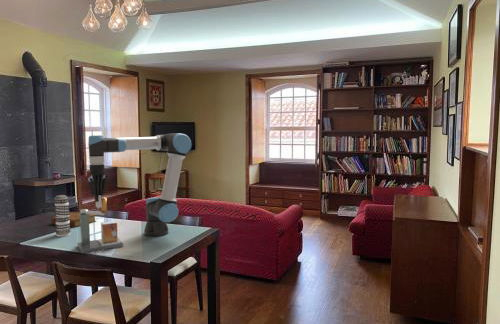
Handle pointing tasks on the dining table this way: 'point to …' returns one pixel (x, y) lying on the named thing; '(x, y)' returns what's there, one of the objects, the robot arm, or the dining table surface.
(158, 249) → the dining table surface
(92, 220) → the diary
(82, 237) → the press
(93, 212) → the press lever
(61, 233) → the decorative candle
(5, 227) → the dining table surface
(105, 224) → the small box
